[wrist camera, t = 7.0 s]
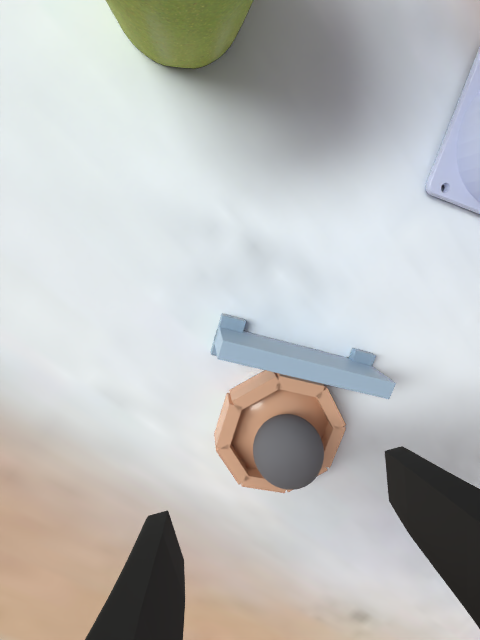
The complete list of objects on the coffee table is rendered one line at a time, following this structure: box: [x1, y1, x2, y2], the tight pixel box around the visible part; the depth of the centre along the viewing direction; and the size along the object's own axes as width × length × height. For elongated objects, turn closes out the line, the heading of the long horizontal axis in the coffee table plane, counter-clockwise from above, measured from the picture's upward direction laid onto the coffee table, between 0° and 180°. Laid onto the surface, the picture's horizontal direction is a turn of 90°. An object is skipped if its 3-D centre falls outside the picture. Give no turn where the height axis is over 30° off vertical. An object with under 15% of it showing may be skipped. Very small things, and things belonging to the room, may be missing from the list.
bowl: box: [214, 370, 346, 493], centre depth 20 cm, size 8×8×1 cm
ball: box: [253, 414, 324, 490], centre depth 18 cm, size 4×4×4 cm
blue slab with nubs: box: [211, 314, 396, 399], centre depth 18 cm, size 10×2×3 cm, turn 73°
